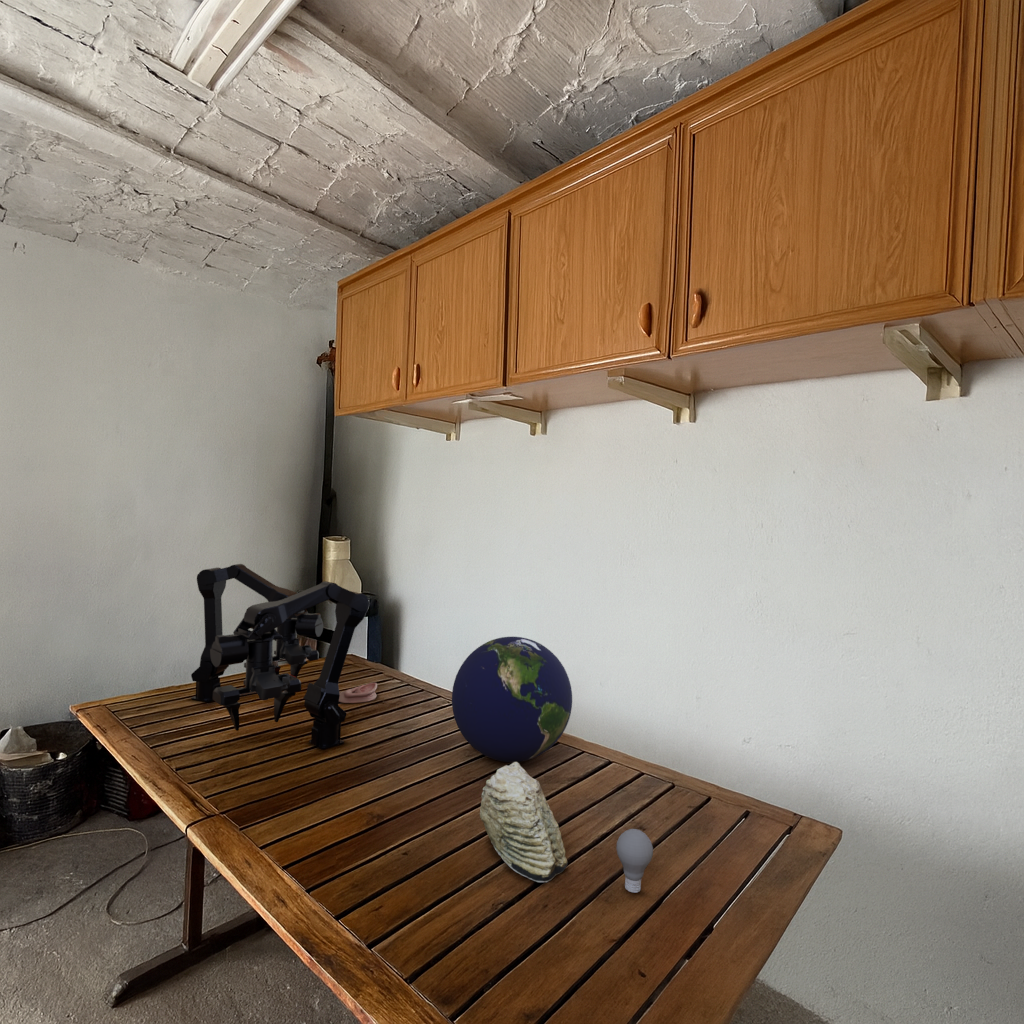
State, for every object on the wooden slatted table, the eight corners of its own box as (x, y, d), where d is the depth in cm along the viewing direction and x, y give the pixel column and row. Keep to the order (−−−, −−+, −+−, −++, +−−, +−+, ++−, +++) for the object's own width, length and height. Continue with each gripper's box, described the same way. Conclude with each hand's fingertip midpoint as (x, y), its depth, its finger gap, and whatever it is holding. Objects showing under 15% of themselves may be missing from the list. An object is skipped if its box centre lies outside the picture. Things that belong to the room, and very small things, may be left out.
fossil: (501, 827, 124) (504, 751, 124) (575, 868, 111) (578, 784, 111) (467, 843, 118) (470, 763, 118) (541, 889, 105) (545, 799, 105)
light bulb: (610, 879, 108) (613, 822, 108) (644, 879, 109) (647, 822, 109) (619, 902, 102) (622, 840, 102) (655, 901, 103) (658, 840, 103)
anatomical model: (326, 688, 195) (343, 678, 206) (325, 700, 195) (343, 690, 206) (366, 692, 192) (381, 682, 203) (365, 705, 192) (381, 694, 203)
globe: (497, 727, 179) (502, 621, 178) (591, 755, 161) (596, 638, 161) (424, 759, 155) (429, 637, 154) (524, 797, 137) (530, 659, 137)
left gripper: (267, 643, 177) (266, 699, 178) (328, 635, 190) (326, 687, 191) (251, 636, 185) (249, 689, 185) (310, 629, 198) (309, 678, 199)
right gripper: (231, 673, 136) (228, 746, 136) (313, 661, 149) (310, 727, 149) (212, 662, 144) (210, 731, 144) (291, 651, 157) (289, 714, 157)
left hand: (285, 686), depth 190 cm, fingers closed on block, 4 cm apart
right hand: (257, 725), depth 148 cm, fingers open, 9 cm apart
